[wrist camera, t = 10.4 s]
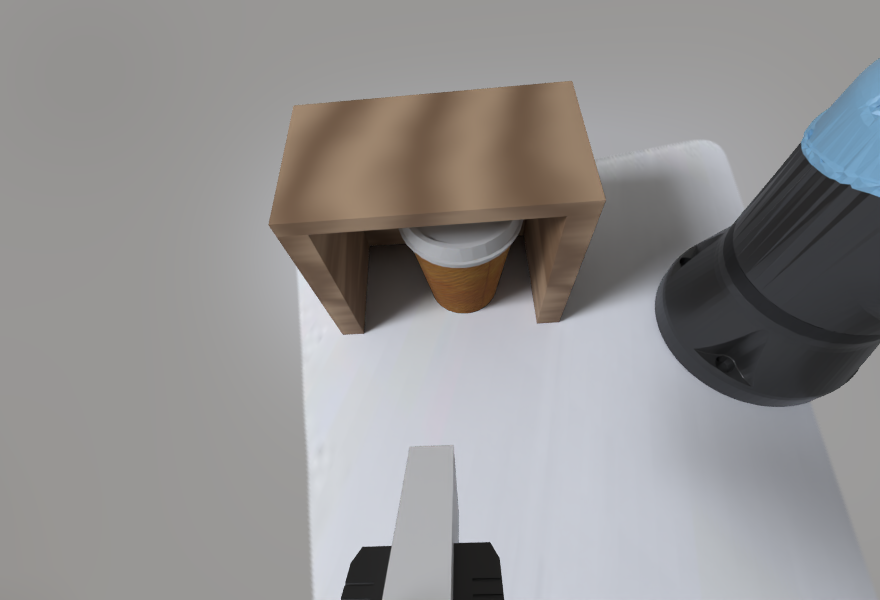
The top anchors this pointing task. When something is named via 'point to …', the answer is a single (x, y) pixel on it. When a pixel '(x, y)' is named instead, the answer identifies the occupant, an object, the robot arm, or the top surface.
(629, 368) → the top surface
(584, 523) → the top surface
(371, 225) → the walnut shelf
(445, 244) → the disposable coffee cup
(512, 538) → the top surface
